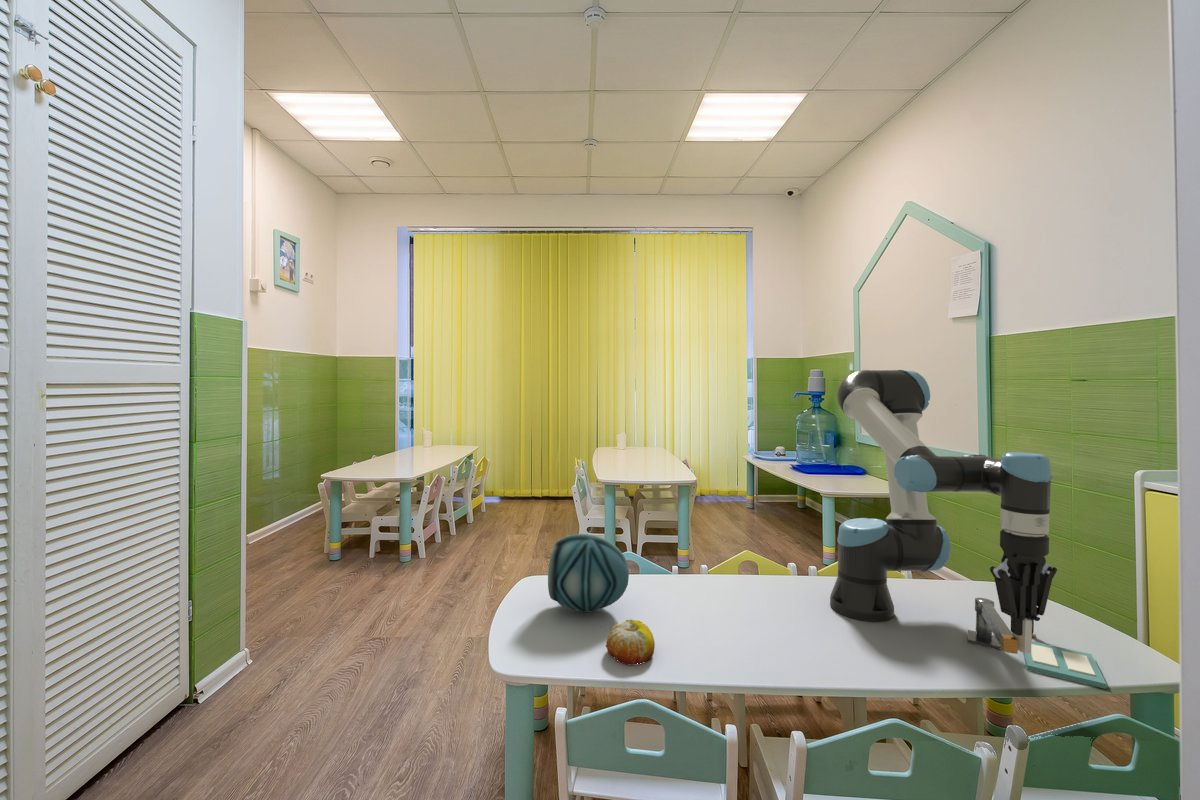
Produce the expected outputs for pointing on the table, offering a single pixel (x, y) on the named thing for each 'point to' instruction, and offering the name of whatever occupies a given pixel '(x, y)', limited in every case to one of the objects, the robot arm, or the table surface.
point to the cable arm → (997, 625)
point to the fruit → (631, 642)
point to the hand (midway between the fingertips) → (1021, 649)
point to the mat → (1064, 664)
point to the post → (983, 634)
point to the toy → (586, 573)
